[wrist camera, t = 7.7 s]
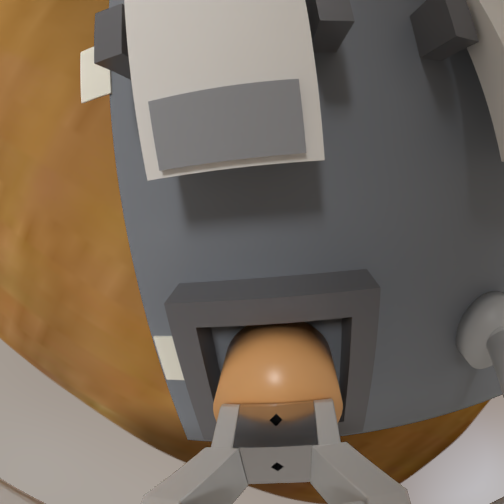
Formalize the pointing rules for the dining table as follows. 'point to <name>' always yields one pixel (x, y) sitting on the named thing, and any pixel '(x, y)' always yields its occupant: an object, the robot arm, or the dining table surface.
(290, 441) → the robot arm
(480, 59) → the rocker
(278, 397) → the button
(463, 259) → the panel
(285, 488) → the dining table surface
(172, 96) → the rocker
